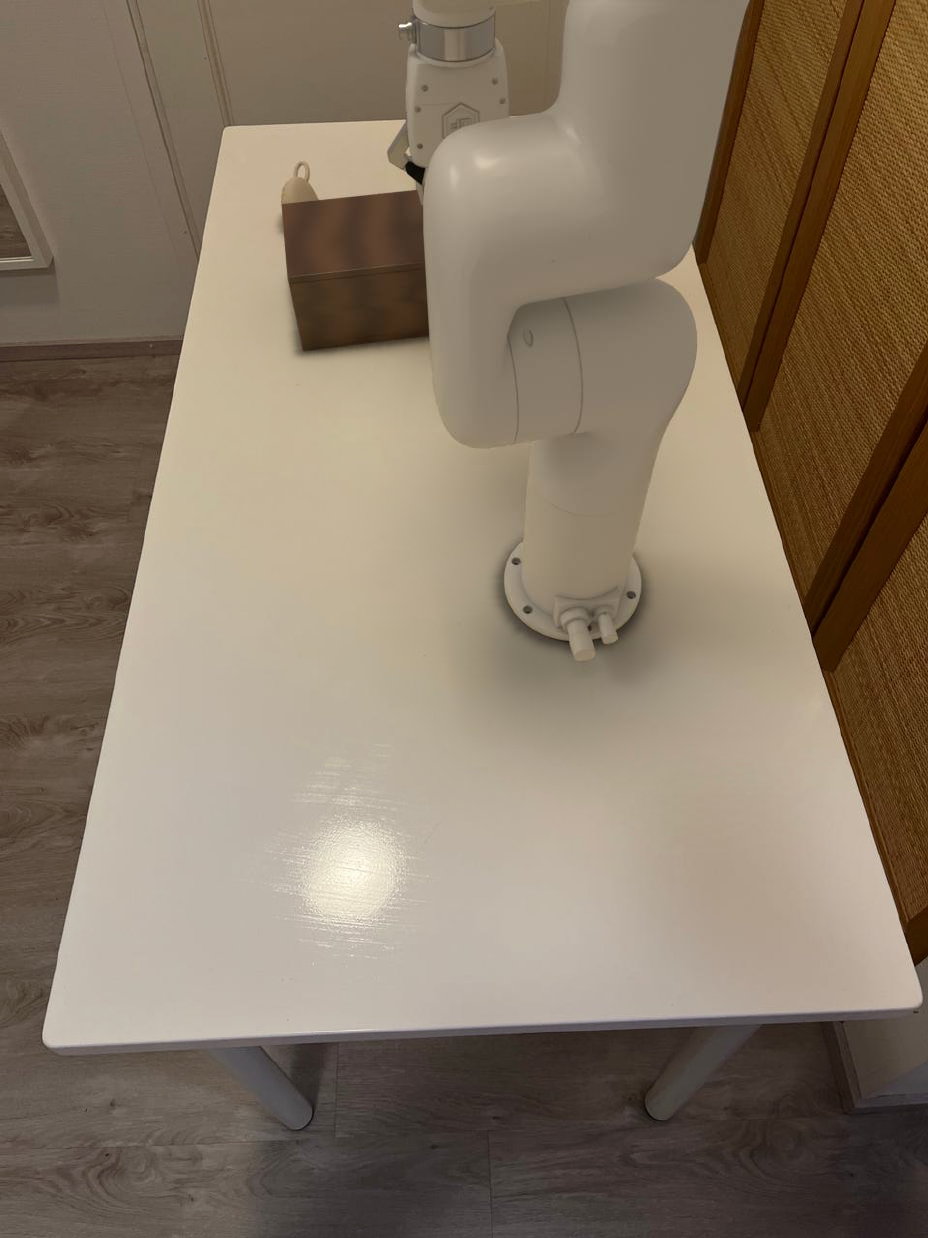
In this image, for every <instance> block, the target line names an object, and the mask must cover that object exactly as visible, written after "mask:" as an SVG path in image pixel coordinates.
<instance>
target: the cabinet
mask: <svg viewBox="0 0 928 1238" xmlns="http://www.w3.org/2000/svg"><path fill="white" fill-rule="evenodd" d="M281 214H282V215H281V216H282V228H283V230H282V231H283V240H284V241H283V242H284V253H285V254H284V255H285V264H286V265H285V267H286V278H287V282H288V288H289V292H290V297H291V301H292V307H293V311H294V316H295V320H296V325H297V329H298V335H299V339H300V344H301V349H302V351H309V350H319V349H328V348H336V347H345V346H352V345H353V346H354V345H362V344H370V343H378V342H387V341H395V340H404V339H411V338H413V339H414V338H419V337H420V338H421V337H428V336H429V319H428V302H427V285H426V268H425V251H424V233H423V211H422V206H421V202H420V198H419V193H418V190H416V189H410V190H401V191H393V192H392V191H391V192H383V193H373V194H362V195H354V196H353V195H352V196H346V197H345V196H344V197H335V198H325V199H318V200H315V201H306V202H296V203H287V204H282V206H281ZM429 337H430V336H429Z"/></svg>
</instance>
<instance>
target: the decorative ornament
mask: <svg viewBox="0 0 928 1238" xmlns="http://www.w3.org/2000/svg"><path fill="white" fill-rule="evenodd" d="M302 166H303V167H304V171H305V173H304V177H302V176H301V177H300V176H298V175H299V169H300V168H301V167H302ZM310 178H311V171H310V166H309V164H308V162H306V161H305V160H300V161H299V162H297V163H296V165H295V166H294V168H293V172H292V177H291V178H289V180H287V181H286V182H285V183H284V186H283V187H282V190H281V196H280V206H281V207H282V204H287V203H296V202H306V201H315V200H319V197H318V195H317V193H316V191H315V190H314V188H313V186H312V184H310V182H309V181H310Z"/></svg>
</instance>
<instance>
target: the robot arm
mask: <svg viewBox="0 0 928 1238" xmlns="http://www.w3.org/2000/svg"><path fill="white" fill-rule="evenodd" d="M545 1H546V0H412V7H411V14H410V15H409V19H406V20H405V21H401V22H400V21H399V22H397V28H398V29H397V30H398V37H399V40H407V41H411V44H410V46H409V47H408V52H407V61H406V71H405V73H406V74H405V99H404V100H405V122H404V123H403V124H402V126H401V128H400V129H399V131H398V133H397V134H396V136H395V138H394V139H393V141H392V142H391V144H390V146H389V147H388V149H387V151H386V156H387V159H388V162H389V163H390V164H392V165H393V166H395V167H396V168H398V169H400V170H402V171H404V172H405V173H406V174H407V175H408V176H409V177H410V178H412V179H413V180H414V181H416V182H418V183H419V184H420V185H421V186H422V188H423V233H424V251H425V268H426V285H427V302H428V319H429V349H430V350H429V351H430V367H431V377H432V378H431V380H432V386H433V393H434V399H435V403H436V407H437V411H438V414H439V417H440V420H441V422H442V424H443V426H444V428H445V430H446V431H447V433H448V434H449V435H450V436H451V437H452V438H453V439H454V440H455V441H456V442H458V443H460V444H461V445H463V446H466V447H467V448H471V449H481V450H483V449H494V448H495V449H496V448H502V447H508V446H514V445H520V444H526V443H530V442H531V445H530V450H529V456H528V457H529V458H528V467H527V480H526V481H527V483H526V496H525V497H526V498H525V513H524V527H523V540H522V541H520V543H518V544H517V546H516V547H515V548H514V549H513V551H512V552H511V553H510V555H509V556H508V559H507V560H506V565H505V569H504V572H503V573H504V574H503V575H504V576H503V585H504V594H505V597H506V600H507V602H508V605H509V607H510V608H511V609H512V611H513V613H514V614H515V615H516V617H518V619H519V620H520V621H521V622H522V623H524V624H525V625H526V626H528V627H529V628H531V629H532V630H533V631H535V632H537V633H538V634H541V635H543V636H546V637H548V638H552V639H554V640H559V641H567V642H569V646H570V648H571V649H570V650H571V653H572V657H573V659H574V660H575V661H576V662H587V661H589V660H592V659H593V658H594V657H595V656H596V655H597V651H596V650H595V645H594V642H593V640H597V639H600V638H601V641H602V643H603V644H605V645H610V644H614V643H615V642H617V640H618V639H619V636H618V633H617V630H619V629H620V628H621V627H622V626H624V625H625V624H626V623H627V622H628V621H630V618H631V617H632V615H633V614H634V613H635V611H636V609H637V606H638V604H639V602H640V597H641V594H642V583H643V582H642V581H643V580H642V575H641V570H640V567H639V565H638V563H637V560H636V559H635V557H634V556H633V554H634V549H635V545H636V541H637V537H638V533H639V529H640V525H641V520H642V516H643V512H644V510H645V509H644V508H645V504H646V499H647V495H648V491H649V487H650V484H651V481H652V476H653V473H654V468H655V464H656V461H657V457H658V453H659V450H660V447H661V444H662V440H663V438H664V436H665V433H666V432H667V429H668V426H669V424H670V423H671V421H672V420H673V417H674V415H675V413H676V412H677V410H678V409H679V406H680V405H681V403H682V401H683V399H684V396H685V394H686V393H687V390H688V388H689V385H690V382H691V380H692V376H693V373H694V369H695V366H696V361H697V355H698V353H697V352H698V330H697V324H696V321H695V316H694V313H693V311H692V309H691V307H690V305H689V303H688V301H687V300H686V298H685V297H684V296H683V294H682V293H681V292H680V291H679V290H678V289H677V288H675V287H674V286H673V285H671V284H669V283H668V282H666V281H665V280H662V279H659V278H658V277H661V276H664V275H665V274H667V273H670V272H671V271H673V270H674V269H675V268H676V267H678V265H680V264H681V262H682V261H683V260H684V258H685V257H686V255H687V254H688V252H689V250H690V248H691V246H692V243H693V241H694V239H695V236H696V233H697V230H698V226H699V222H700V220H701V215H702V211H703V207H704V202H705V198H706V193H707V189H708V184H709V180H710V175H711V170H712V166H713V160H714V155H715V152H716V151H715V150H716V146H717V141H718V137H719V134H720V127H721V123H722V119H723V114H724V109H725V106H726V105H725V104H726V100H727V95H728V91H729V86H730V81H731V76H732V72H733V66H734V59H735V56H736V55H735V54H736V49H737V45H738V41H739V37H740V33H741V31H742V26H743V23H744V18H745V15H746V11H747V9H748V6H749V3H750V0H568V4H567V7H566V13H565V17H564V26H563V27H564V28H563V37H562V38H563V39H562V59H561V60H562V61H561V76H560V84H559V91H558V95H557V98H556V100H555V102H554V103H553V104H552V105H551V106H550V107H549V108H547V109H546V110H544V111H540V112H537V113H530V114H523V115H516V116H510V95H509V81H508V70H507V69H508V68H507V61H506V60H507V59H506V54H505V50H504V49H505V48H504V46H503V45H502V44H501V42H500V41H499V39H498V38H496V7H501V6H509V5H518V4H526V3H537V2H545ZM408 149H409V154H410V155H409V154H408V153H406V152H407V151H408Z"/></svg>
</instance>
